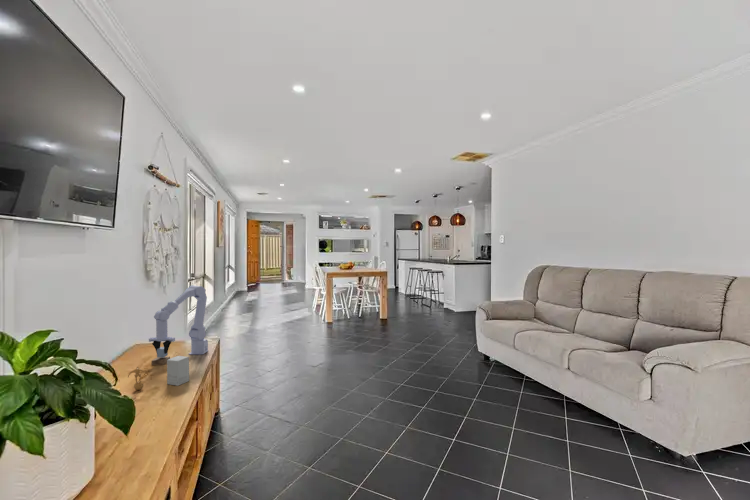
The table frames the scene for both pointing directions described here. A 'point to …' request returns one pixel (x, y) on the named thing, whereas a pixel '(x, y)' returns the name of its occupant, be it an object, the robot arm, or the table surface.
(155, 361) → the walnut pedestal
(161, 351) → the blue block
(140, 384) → the figurine
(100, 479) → the table surface
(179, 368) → the supplement box
